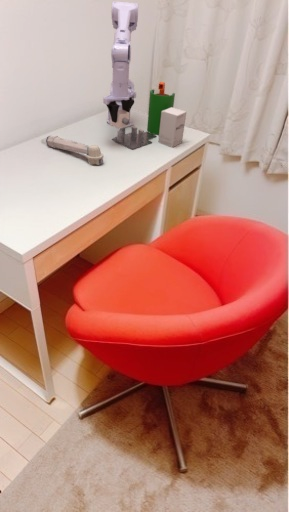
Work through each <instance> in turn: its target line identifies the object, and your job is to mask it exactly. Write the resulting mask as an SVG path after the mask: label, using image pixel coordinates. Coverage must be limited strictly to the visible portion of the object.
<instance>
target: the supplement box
mask: <svg viewBox="0 0 289 512" xmlns="http://www.w3.org/2000/svg"><path fill="white" fill-rule="evenodd" d="M186 117H187V111H186V110H182V109H179V108H177V107H176V108H175V107H174V106H173V107H171V108H168V109H166V110H163V111H162V112H161V121H160V130H159V135H158V140H157V141H158V143H159V144H163V145H164V146H168V147H169V148H174V147H175V146H177V145H179V144H182V143H183V138H184V131H185V126H186V125H185V124H186V119H187V118H186Z"/></svg>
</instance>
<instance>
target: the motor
mask: <svg viewBox="0 0 289 512" xmlns="http://www.w3.org/2000/svg"><path fill="white" fill-rule="evenodd" d="M165 89H166V83H165V82H161V81H160V82H159V83H158V90H159V92H158V93H155V89H151V90H150V91H149V100H148V112H147V124H146V125H147V127H146V130H147V132H149V133H151V134H153V135H156V136H159V130H160V121H161V112H162V111H163V110H166V109H168V108H171V107H173V108H174V104H175V98H176V97H175V96H176V93H175V92H173V93H172V94H166V93H165Z"/></svg>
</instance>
